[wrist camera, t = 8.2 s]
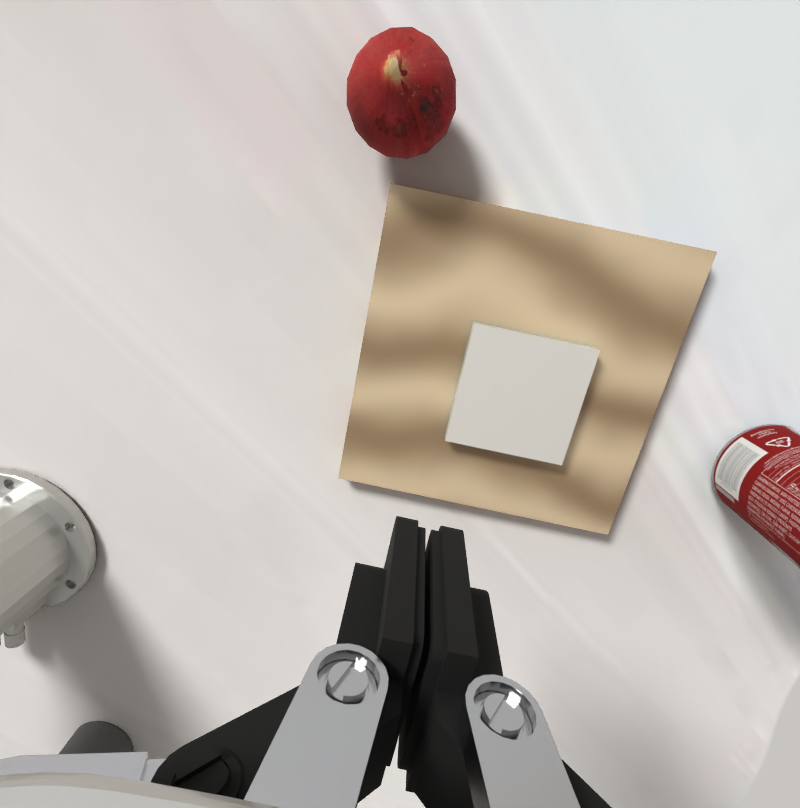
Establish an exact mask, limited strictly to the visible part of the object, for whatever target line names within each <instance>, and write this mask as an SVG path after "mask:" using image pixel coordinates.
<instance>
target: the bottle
mask: <svg viewBox="0 0 800 808" xmlns="http://www.w3.org/2000/svg"><path fill="white" fill-rule="evenodd" d="M120 752H133V746H132V743H131V740H130V739H129V737H128V736H127V735H126V734H125V733H124V732H123V731H122V730H121V729H119V728H118V727H116V726H113V725H111V724H109V723H105V722H89V723H86V724H84V725H82V726H81V727H79V728H78V729H77V731H76V732H75V733H74V735H73V736H72V737H71V738H70V740H69V741H68V742H67V744H66V745H65V746H64V748H63V749H62V750H61V752H60V753H59V754H89V753H120Z"/></svg>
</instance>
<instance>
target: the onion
mask: <svg viewBox="0 0 800 808" xmlns="http://www.w3.org/2000/svg"><path fill="white" fill-rule="evenodd" d="M347 107H348V110H349V113H350V116H351V118H352V121H353V124H354V127H355V130H356V131H357V132H358V134H359V135H360V136H361V137H362V138H363V139H364V141H365V142H366V143H367V144H368V145H369V146H370V147H372V148H373V149H375V150H377V151H378V152H380V153H382V154H384V155H385V156H389V157H397V158H406V159H408V158H411V157H414V156H417V155H420V154H423V153H427V152H428V151H429V150H430V149H431V148H432V147H433V146H434V145H435V144H436V143H437V142H438V141H439V140H440V139H441V138H442V137H443V136H444V135H445V134H446V133H447V130H448V128H449V125H450V123H451V120H452V118H453V115H454V113H455V110H456V79H455V76H454V73H453V70H452V67H451V65H450V62H449V59H448V56H447V55H446V54H445V53H444V52H443V50H442V49H441V48H440V47H439V46H438V45H437V43H436V42H435V41H434V40H433V39H432V38H431V37H429V36H427V35H425V34H423V33H422V32H420V31H418V30H416V29H415V28H413V27H400V28H390V29H388V30H386V31H384V32H382V33H380V34H378V35H376V36H374V37H372V38H371V39H370V40H369V41H368V42H367V43H366V45H365V46H364V47H363V48H362V49H361V51H360V52H359V53H358V54H357V55H356V58H355V60H354V63H353V65H352V68H351V70H350V73H349V76H348V78H347Z"/></svg>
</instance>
